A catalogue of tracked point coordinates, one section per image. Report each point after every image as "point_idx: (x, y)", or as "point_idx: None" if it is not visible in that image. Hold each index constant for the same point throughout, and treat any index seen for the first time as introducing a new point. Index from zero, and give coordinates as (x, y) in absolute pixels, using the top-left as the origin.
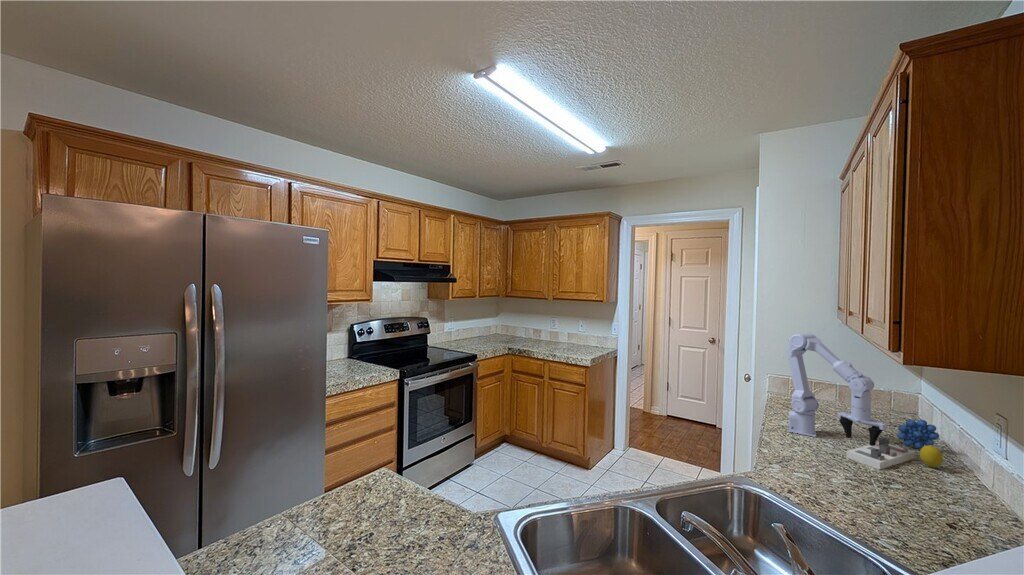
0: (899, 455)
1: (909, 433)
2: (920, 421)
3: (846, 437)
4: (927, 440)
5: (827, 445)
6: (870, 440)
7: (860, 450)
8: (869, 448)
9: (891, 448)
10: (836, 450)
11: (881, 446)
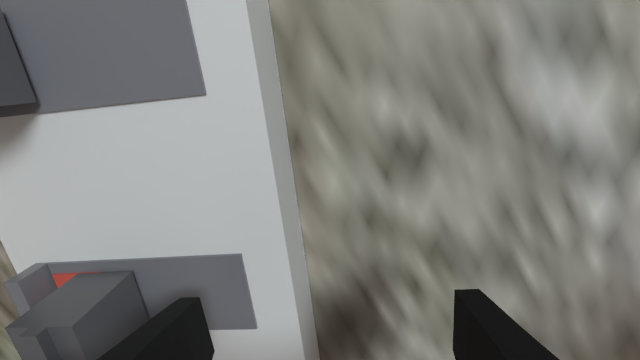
0: None
1: None
2: None
3: (480, 291)
4: None
5: (573, 68)
6: (138, 342)
7: (204, 113)
8: (226, 272)
9: None
10: (435, 17)
11: (60, 320)
